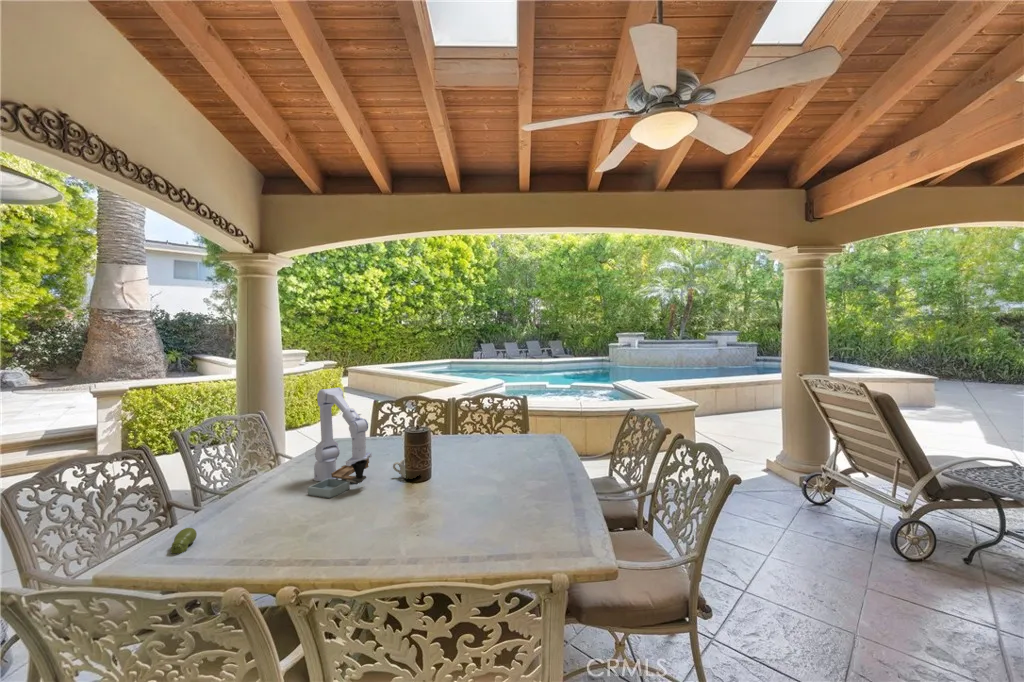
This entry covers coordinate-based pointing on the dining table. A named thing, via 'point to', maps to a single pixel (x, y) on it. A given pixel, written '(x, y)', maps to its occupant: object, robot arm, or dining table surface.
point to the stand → (351, 480)
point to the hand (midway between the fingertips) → (359, 477)
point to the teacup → (402, 468)
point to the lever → (348, 473)
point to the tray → (328, 488)
